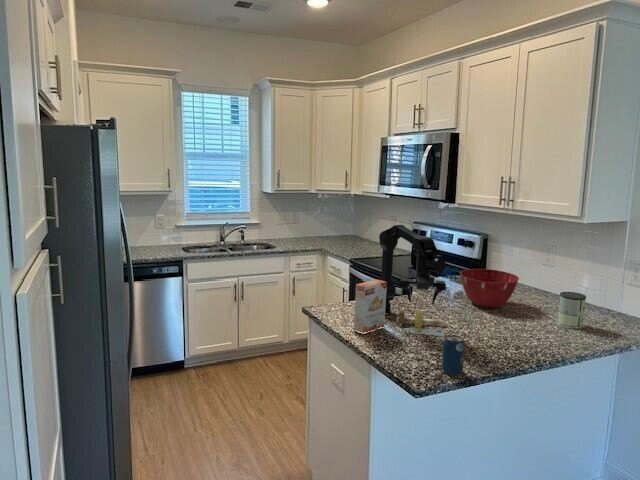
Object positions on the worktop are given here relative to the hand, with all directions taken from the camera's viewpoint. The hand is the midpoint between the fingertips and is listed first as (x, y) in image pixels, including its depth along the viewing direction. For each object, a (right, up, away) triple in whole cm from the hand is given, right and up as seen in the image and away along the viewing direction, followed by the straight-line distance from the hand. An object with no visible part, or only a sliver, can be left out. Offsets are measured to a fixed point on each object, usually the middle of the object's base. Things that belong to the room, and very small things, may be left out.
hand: (421, 303), depth 196 cm
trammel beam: (+1, -11, +7) cm, 13 cm away
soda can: (+3, -18, -37) cm, 41 cm away
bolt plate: (0, -12, +1) cm, 12 cm away
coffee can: (+70, -12, +14) cm, 73 cm away
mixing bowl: (+43, -6, +44) cm, 62 cm away
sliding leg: (0, -11, +6) cm, 13 cm away
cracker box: (-22, -12, +2) cm, 25 cm away
